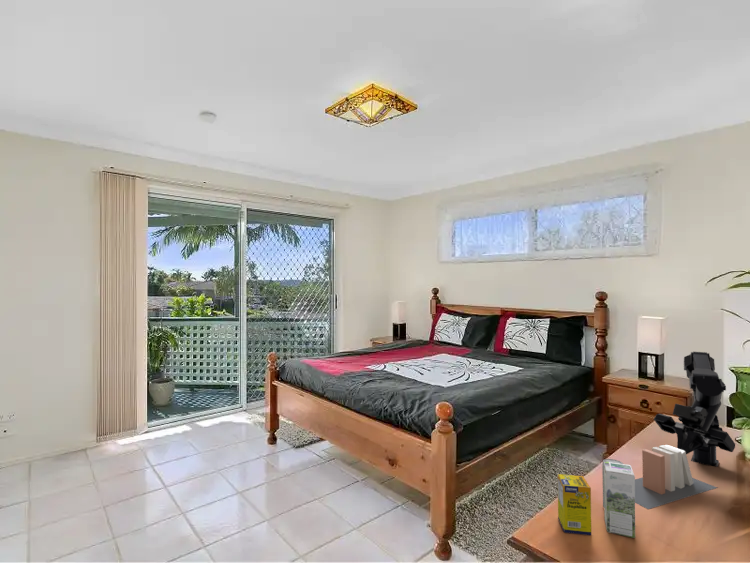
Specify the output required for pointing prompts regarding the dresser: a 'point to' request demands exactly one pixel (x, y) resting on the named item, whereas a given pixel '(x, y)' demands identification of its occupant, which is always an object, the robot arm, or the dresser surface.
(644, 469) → the end domino
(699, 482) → the domino mat
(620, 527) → the syrup box
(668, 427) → the robot arm
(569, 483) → the supplement box
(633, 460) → the dresser surface
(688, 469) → the domino
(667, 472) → the domino
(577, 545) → the dresser surface
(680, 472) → the domino
